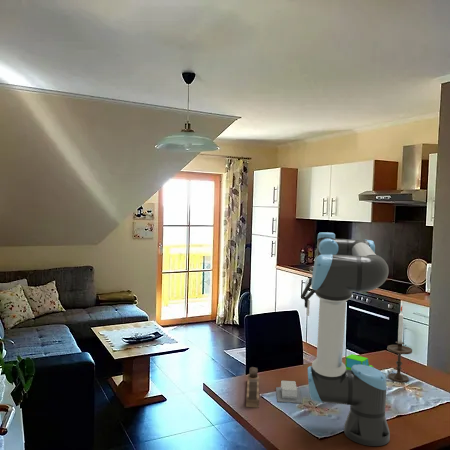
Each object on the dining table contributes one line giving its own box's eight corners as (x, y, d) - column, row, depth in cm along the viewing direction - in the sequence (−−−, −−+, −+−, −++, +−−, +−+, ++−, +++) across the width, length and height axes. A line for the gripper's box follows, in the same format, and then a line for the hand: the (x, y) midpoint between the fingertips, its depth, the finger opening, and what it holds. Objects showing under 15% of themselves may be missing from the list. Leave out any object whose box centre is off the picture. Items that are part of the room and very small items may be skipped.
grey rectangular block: (296, 399, 178) (297, 390, 178) (282, 398, 179) (282, 389, 179) (295, 390, 187) (295, 381, 187) (280, 389, 188) (281, 380, 188)
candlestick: (411, 384, 198) (414, 308, 197) (386, 380, 202) (389, 305, 201) (410, 376, 208) (413, 303, 207) (386, 372, 212) (389, 301, 211)
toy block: (375, 376, 208) (376, 355, 207) (363, 383, 198) (364, 362, 198) (355, 370, 215) (356, 350, 214) (342, 377, 205) (343, 356, 205)
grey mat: (302, 403, 176) (302, 402, 176) (277, 402, 177) (277, 401, 177) (299, 389, 190) (299, 388, 190) (276, 388, 191) (276, 387, 191)
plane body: (258, 407, 171) (259, 382, 171) (246, 406, 172) (246, 381, 171) (258, 381, 197) (259, 359, 197) (247, 381, 197) (248, 359, 197)
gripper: (352, 267, 194) (350, 314, 195) (295, 265, 196) (294, 312, 196) (356, 269, 186) (354, 319, 187) (297, 267, 188) (295, 316, 189)
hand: (323, 315), depth 192 cm, fingers open, 13 cm apart
